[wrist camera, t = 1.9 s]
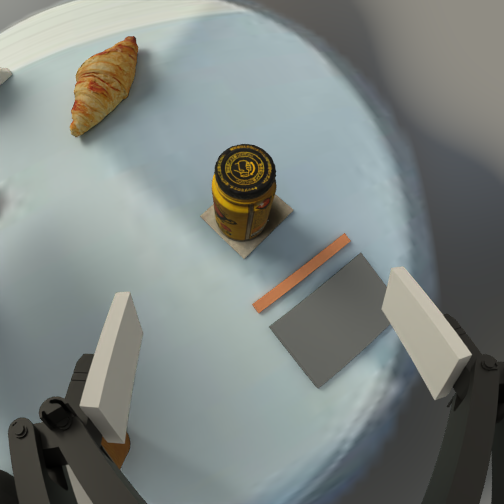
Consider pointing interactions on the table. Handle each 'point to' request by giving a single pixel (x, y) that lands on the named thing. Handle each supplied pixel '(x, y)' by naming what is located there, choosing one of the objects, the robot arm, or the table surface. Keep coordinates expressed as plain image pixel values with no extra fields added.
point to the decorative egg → (7, 489)
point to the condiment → (245, 198)
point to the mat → (335, 321)
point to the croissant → (103, 84)
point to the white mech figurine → (4, 74)
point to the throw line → (300, 273)
